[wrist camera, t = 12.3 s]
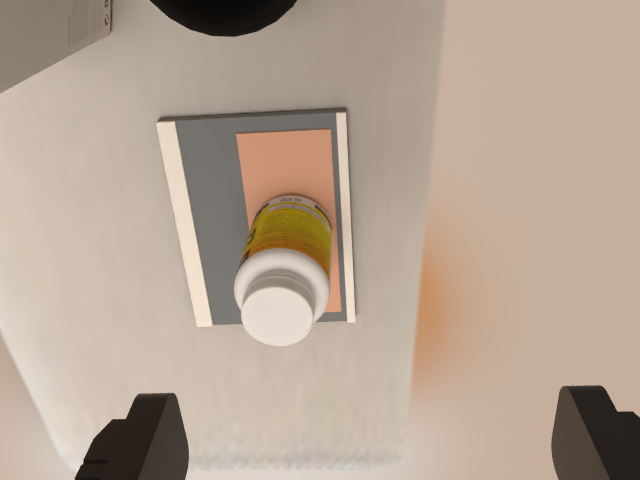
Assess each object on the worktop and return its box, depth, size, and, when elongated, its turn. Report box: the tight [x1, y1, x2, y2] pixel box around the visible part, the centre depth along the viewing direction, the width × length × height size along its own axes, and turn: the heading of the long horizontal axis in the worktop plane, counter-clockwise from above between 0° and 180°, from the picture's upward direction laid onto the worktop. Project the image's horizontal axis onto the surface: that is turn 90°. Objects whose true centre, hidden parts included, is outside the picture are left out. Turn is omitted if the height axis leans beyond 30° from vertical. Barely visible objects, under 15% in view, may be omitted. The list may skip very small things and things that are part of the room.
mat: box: [156, 108, 355, 327], centre depth 42 cm, size 12×16×1 cm
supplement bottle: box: [234, 195, 333, 346], centre depth 37 cm, size 6×6×10 cm
